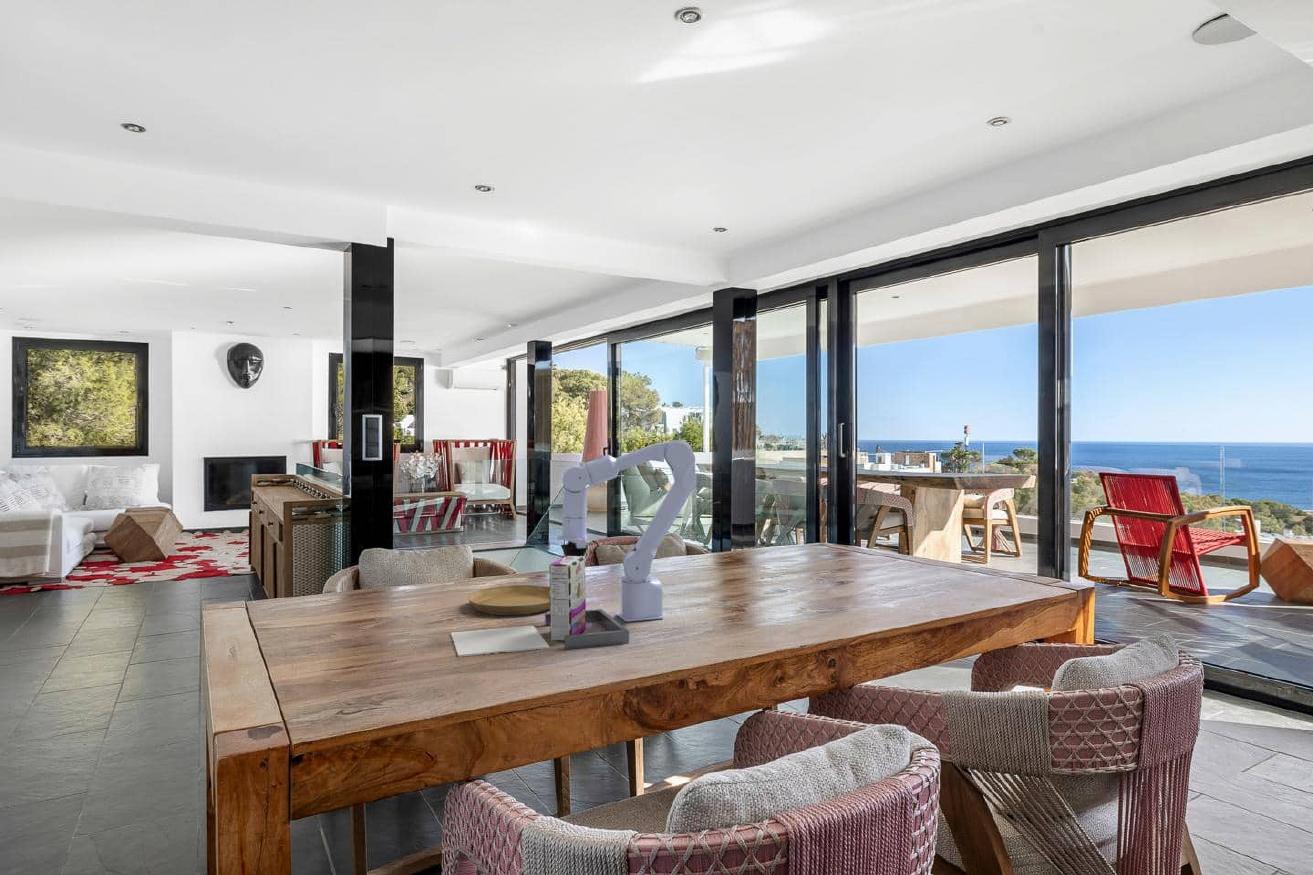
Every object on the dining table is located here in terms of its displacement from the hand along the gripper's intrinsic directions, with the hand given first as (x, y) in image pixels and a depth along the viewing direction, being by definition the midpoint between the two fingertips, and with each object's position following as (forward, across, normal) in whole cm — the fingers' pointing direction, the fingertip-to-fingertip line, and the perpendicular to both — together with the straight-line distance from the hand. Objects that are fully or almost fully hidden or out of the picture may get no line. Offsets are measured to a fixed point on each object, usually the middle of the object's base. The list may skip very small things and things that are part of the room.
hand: (573, 574), depth 179 cm
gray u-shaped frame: (+10, +14, -1) cm, 17 cm away
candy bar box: (+11, +14, -4) cm, 18 cm away
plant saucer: (+11, -18, -10) cm, 24 cm away
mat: (+11, +14, -20) cm, 26 cm away
